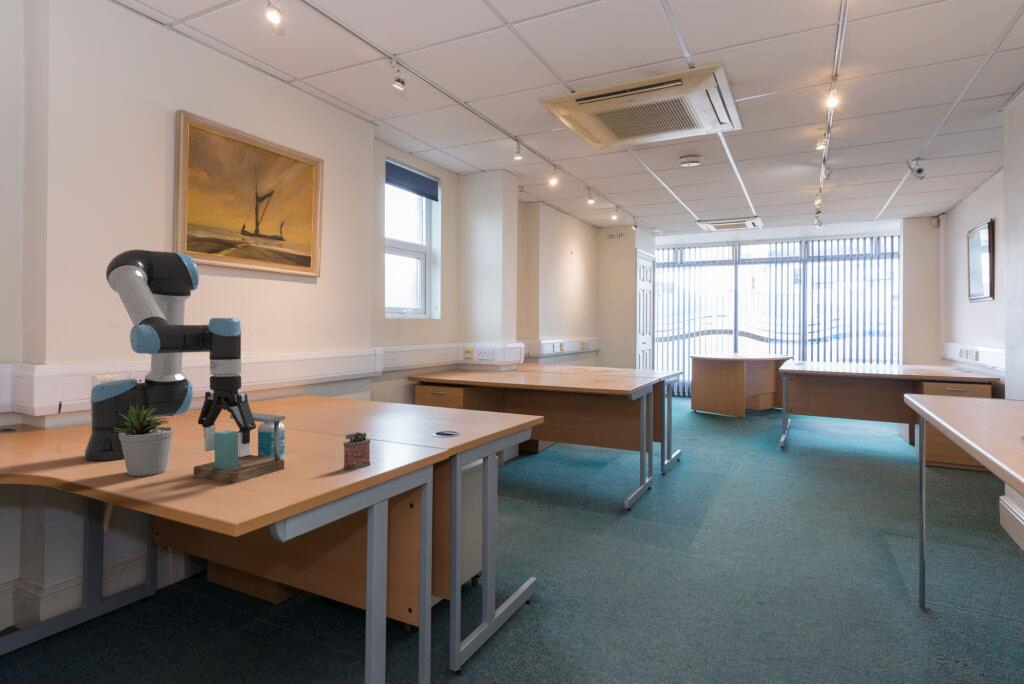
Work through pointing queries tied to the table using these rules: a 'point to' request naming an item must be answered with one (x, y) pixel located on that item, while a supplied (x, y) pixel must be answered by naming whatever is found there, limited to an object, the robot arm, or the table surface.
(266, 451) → the pill bottle
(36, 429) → the table surface
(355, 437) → the lighter
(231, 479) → the socket plate
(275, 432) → the grey metal bridge
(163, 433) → the potted plant
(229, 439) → the peg
